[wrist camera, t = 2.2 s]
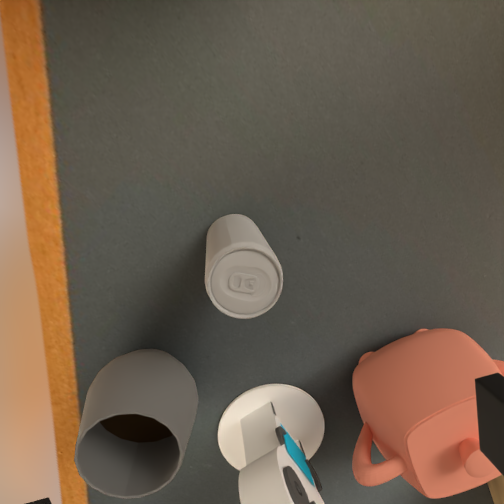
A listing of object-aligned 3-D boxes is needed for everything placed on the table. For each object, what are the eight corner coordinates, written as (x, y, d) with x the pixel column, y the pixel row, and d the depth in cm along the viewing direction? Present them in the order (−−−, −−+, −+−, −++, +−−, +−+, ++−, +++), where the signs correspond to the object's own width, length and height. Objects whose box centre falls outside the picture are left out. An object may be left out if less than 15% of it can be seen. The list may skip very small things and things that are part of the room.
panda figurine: (344, 442, 41) (418, 601, 26) (257, 494, 41) (283, 678, 27) (290, 364, 37) (341, 496, 23) (196, 421, 38) (188, 585, 24)
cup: (106, 325, 34) (65, 392, 25) (206, 338, 36) (205, 406, 26) (96, 412, 36) (55, 505, 27) (191, 421, 38) (184, 512, 28)
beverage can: (253, 268, 34) (275, 326, 23) (202, 259, 34) (197, 314, 22) (265, 217, 33) (293, 252, 22) (211, 207, 33) (212, 237, 21)
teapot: (341, 448, 41) (393, 564, 29) (304, 363, 38) (345, 456, 26) (508, 376, 41) (625, 464, 29) (485, 284, 37) (607, 342, 26)
